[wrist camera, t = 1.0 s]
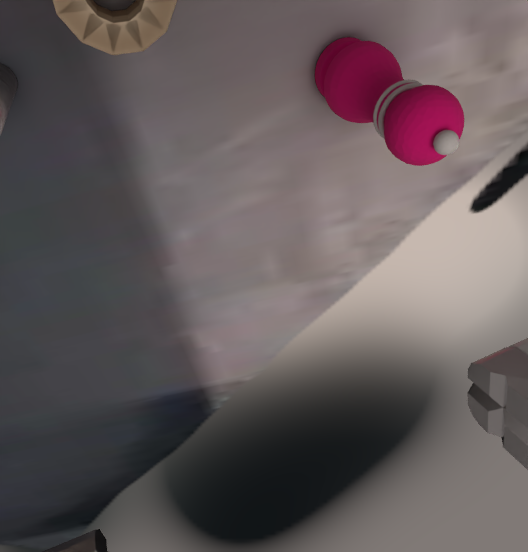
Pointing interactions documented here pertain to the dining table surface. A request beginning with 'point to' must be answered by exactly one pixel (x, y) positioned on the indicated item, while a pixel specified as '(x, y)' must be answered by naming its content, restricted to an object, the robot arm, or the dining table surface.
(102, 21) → the bead
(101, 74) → the dining table surface
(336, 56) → the pepper mill
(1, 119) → the frosted glass rod
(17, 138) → the dining table surface
